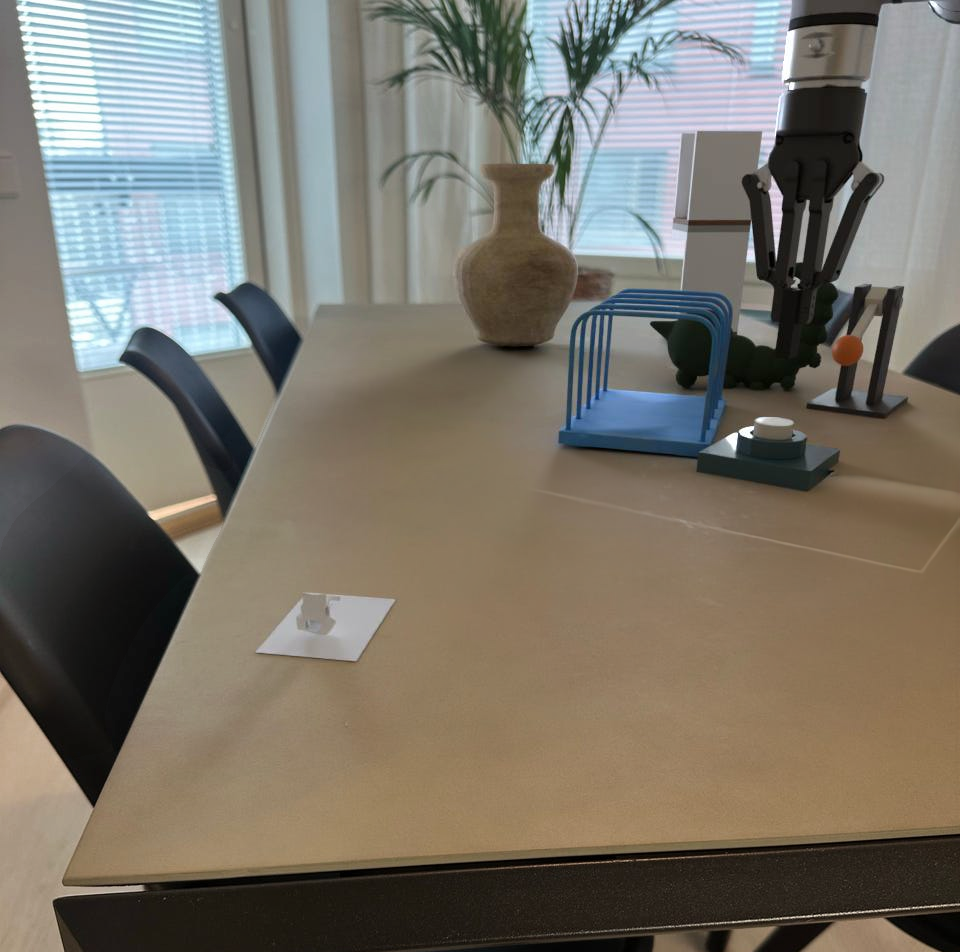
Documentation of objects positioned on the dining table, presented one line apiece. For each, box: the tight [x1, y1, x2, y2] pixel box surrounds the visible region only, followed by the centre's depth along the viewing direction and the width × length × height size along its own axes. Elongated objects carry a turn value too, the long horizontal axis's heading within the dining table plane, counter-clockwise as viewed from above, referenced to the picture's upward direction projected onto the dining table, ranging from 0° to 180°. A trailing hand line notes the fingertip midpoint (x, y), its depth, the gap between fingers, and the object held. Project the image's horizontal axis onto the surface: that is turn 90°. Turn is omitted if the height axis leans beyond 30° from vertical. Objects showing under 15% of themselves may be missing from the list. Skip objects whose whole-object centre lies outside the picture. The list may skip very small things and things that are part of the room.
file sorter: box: [557, 287, 733, 458], centre depth 111 cm, size 25×17×15 cm
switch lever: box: [831, 286, 890, 366], centre depth 114 cm, size 14×4×4 cm, turn 144°
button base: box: [696, 425, 841, 493], centre depth 97 cm, size 12×10×4 cm
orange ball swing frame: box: [805, 283, 909, 420], centre depth 119 cm, size 12×10×16 cm
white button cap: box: [753, 416, 795, 440], centre depth 96 cm, size 4×4×2 cm
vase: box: [452, 163, 579, 347], centre depth 163 cm, size 22×22×30 cm
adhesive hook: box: [295, 591, 341, 636], centre depth 63 cm, size 3×3×3 cm
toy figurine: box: [649, 261, 839, 392], centre depth 131 cm, size 9×19×25 cm
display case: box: [671, 130, 763, 335], centre depth 169 cm, size 11×11×35 cm
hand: (786, 356), depth 93 cm, fingers closed
